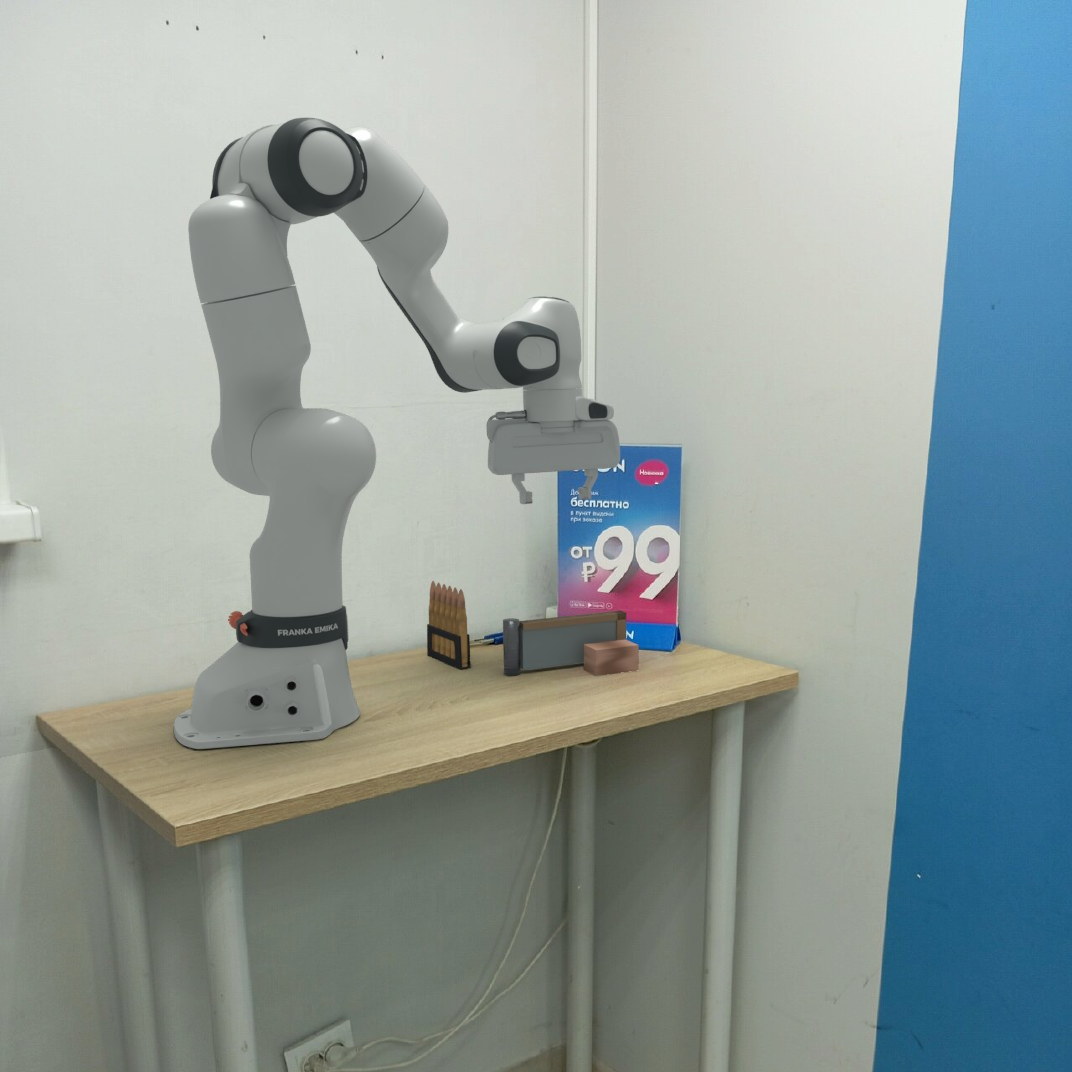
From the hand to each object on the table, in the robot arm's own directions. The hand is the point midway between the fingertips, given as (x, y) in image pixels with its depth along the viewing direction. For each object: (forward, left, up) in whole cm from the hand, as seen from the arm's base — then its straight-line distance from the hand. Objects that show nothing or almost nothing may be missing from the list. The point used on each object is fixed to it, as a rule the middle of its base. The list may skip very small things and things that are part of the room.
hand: (555, 501), depth 154 cm
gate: (0, -5, -24) cm, 24 cm away
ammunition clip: (-16, +6, -25) cm, 30 cm away
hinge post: (-10, -5, -24) cm, 27 cm away
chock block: (+4, -9, -25) cm, 27 cm away
